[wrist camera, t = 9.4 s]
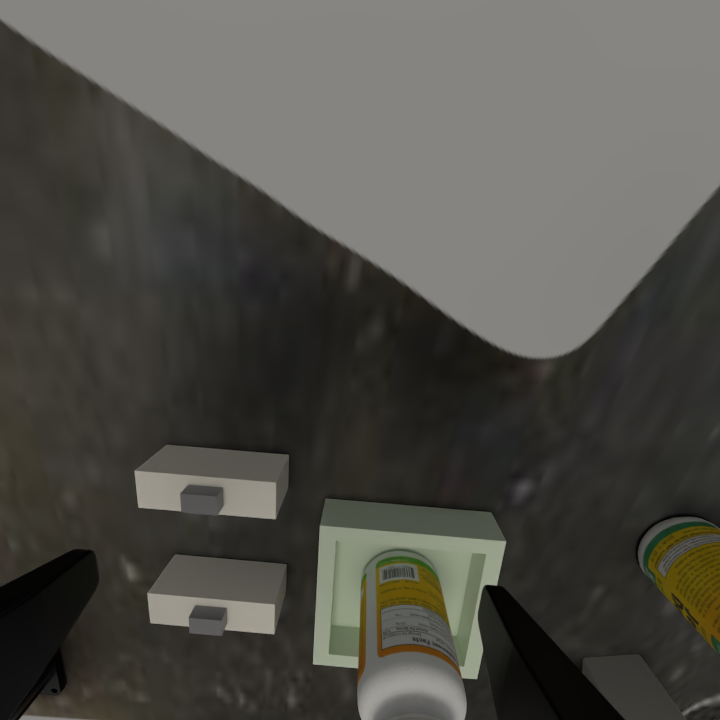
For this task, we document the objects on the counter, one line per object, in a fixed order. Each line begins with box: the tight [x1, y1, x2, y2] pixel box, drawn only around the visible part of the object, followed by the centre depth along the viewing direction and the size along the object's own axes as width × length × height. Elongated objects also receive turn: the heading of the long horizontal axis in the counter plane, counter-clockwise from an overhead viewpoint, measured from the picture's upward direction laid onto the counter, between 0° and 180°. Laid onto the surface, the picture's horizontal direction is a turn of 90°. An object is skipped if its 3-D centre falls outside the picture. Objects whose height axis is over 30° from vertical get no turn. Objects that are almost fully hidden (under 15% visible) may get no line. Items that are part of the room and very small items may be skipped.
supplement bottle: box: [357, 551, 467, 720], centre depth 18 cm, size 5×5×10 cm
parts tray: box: [313, 498, 506, 679], centre depth 22 cm, size 11×11×2 cm
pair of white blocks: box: [135, 445, 289, 636], centre depth 21 cm, size 11×8×4 cm
